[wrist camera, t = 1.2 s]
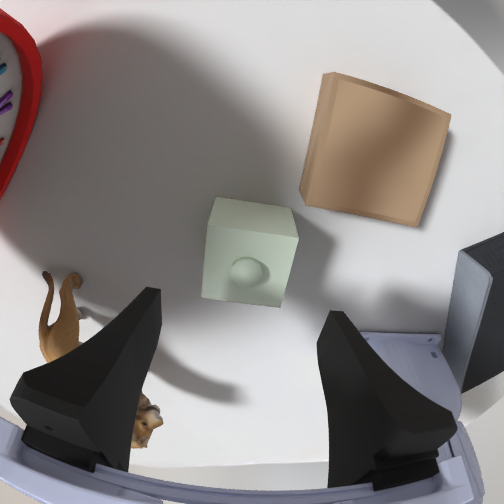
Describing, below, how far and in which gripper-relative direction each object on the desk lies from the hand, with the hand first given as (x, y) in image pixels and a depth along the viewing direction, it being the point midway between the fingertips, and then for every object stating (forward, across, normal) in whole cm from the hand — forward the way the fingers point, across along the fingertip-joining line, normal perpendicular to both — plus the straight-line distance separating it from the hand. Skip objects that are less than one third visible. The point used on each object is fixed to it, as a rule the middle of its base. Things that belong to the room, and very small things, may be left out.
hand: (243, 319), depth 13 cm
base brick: (+8, -6, -7) cm, 12 cm away
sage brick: (+8, 0, 0) cm, 8 cm away
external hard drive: (+8, -26, +4) cm, 28 cm away
